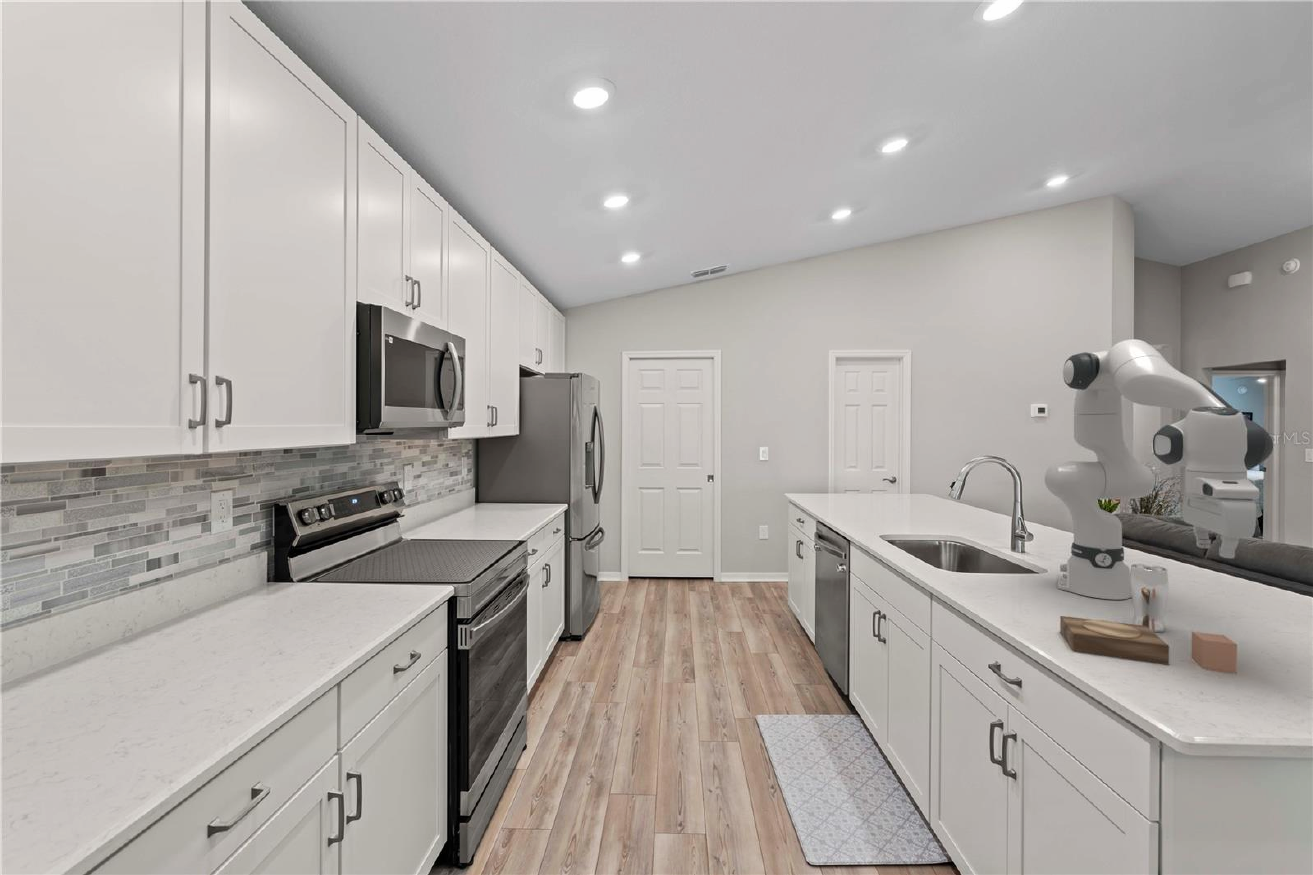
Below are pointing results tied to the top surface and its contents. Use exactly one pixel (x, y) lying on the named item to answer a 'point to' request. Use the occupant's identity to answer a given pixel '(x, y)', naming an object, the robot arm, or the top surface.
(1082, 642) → the block
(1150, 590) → the beer glass
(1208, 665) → the terracotta block
